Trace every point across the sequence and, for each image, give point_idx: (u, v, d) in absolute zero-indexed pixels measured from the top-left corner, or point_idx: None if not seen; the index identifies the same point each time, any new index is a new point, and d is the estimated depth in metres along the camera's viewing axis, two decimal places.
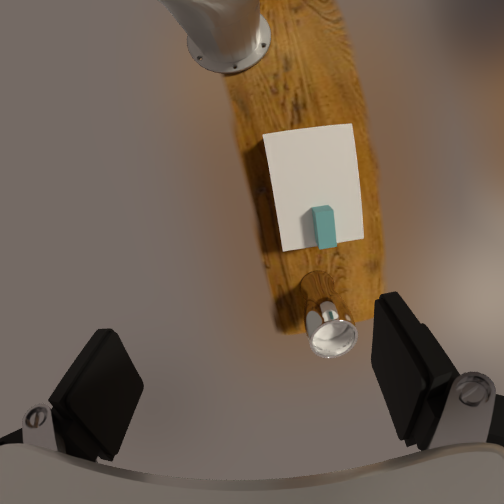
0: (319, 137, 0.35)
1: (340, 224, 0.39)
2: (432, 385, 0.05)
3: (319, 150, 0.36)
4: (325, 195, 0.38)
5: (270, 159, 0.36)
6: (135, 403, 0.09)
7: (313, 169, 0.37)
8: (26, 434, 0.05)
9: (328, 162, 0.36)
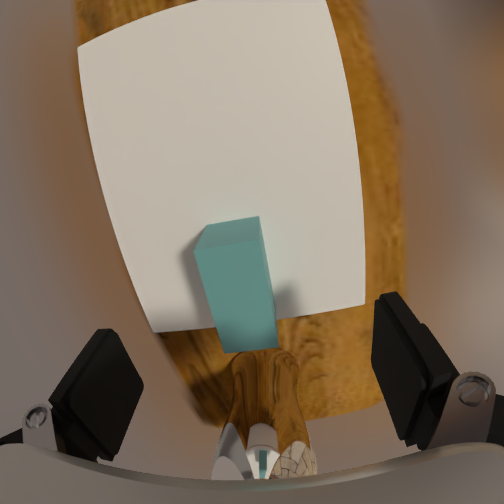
0: (222, 19, 0.09)
1: (298, 271, 0.14)
2: (432, 385, 0.05)
3: (223, 52, 0.10)
4: (246, 188, 0.12)
5: (90, 102, 0.11)
6: (135, 403, 0.09)
7: (204, 109, 0.11)
8: (26, 434, 0.05)
9: (252, 86, 0.11)
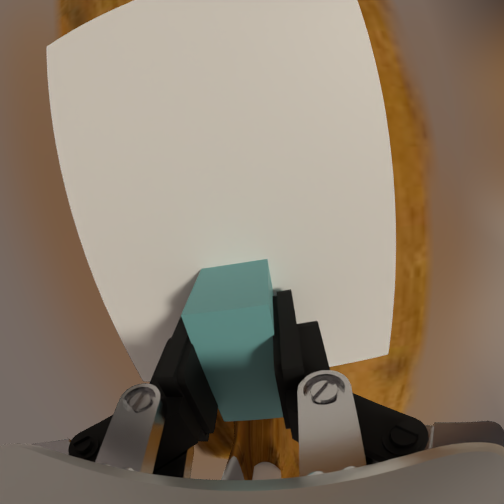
0: (219, 3, 0.07)
1: None
2: (284, 376, 0.06)
3: (221, 44, 0.07)
4: (251, 224, 0.10)
5: (58, 112, 0.08)
6: None
7: (196, 120, 0.08)
8: (118, 414, 0.06)
9: (260, 88, 0.08)
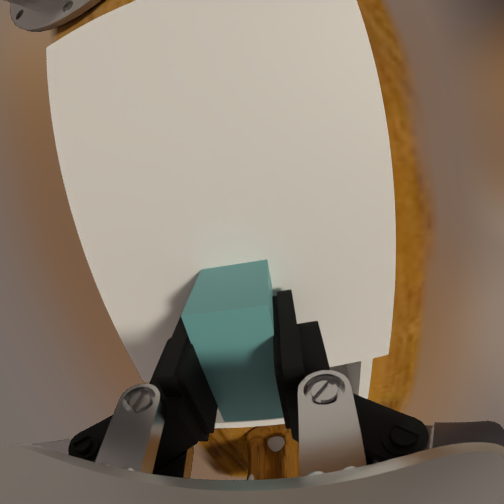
0: (219, 4, 0.07)
1: None
2: (284, 376, 0.06)
3: (220, 45, 0.08)
4: (251, 225, 0.10)
5: (58, 113, 0.08)
6: None
7: (196, 120, 0.09)
8: (118, 414, 0.06)
9: (259, 89, 0.08)
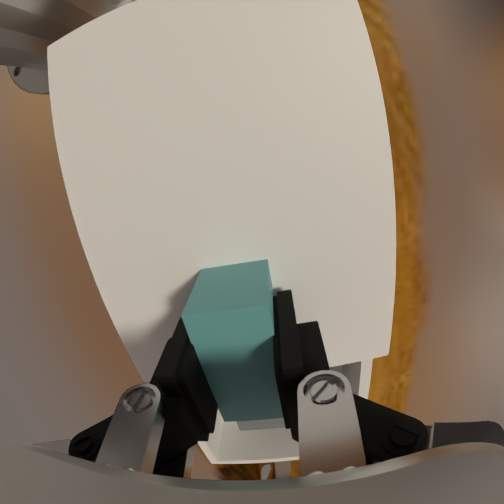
0: (220, 4, 0.07)
1: None
2: (284, 376, 0.06)
3: (221, 44, 0.08)
4: (251, 225, 0.10)
5: (59, 112, 0.08)
6: None
7: (197, 120, 0.09)
8: (118, 414, 0.06)
9: (260, 89, 0.08)
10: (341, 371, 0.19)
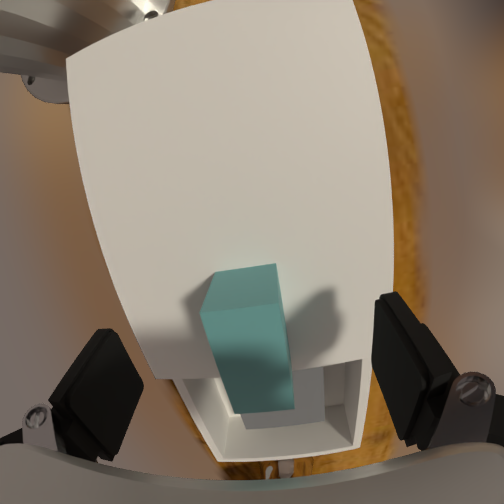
0: (233, 25, 0.08)
1: (317, 323, 0.12)
2: (432, 385, 0.05)
3: (235, 65, 0.09)
4: (261, 231, 0.11)
5: (79, 123, 0.09)
6: (135, 403, 0.09)
7: (212, 135, 0.10)
8: (26, 434, 0.05)
9: (270, 107, 0.09)
10: (343, 372, 0.20)
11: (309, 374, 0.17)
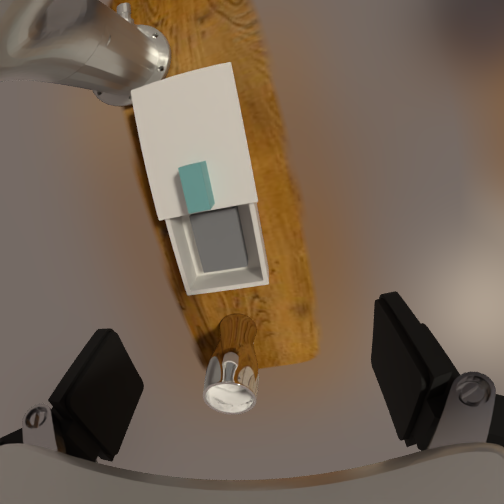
0: (190, 82, 0.27)
1: (223, 184, 0.32)
2: (432, 385, 0.05)
3: (191, 97, 0.28)
4: (200, 149, 0.30)
5: (138, 115, 0.29)
6: (134, 403, 0.09)
7: (184, 120, 0.29)
8: (26, 434, 0.05)
9: (202, 110, 0.29)
10: None
11: (232, 227, 0.37)
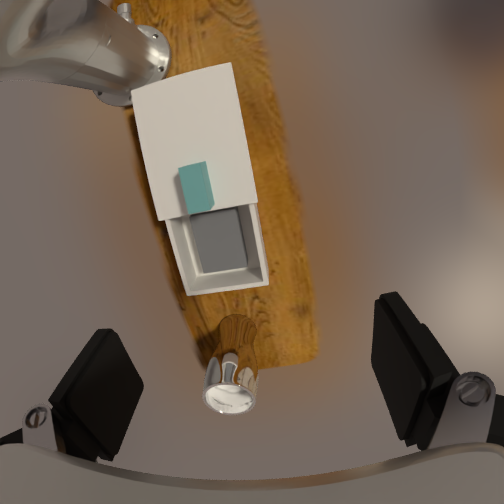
0: (191, 83, 0.27)
1: (223, 184, 0.32)
2: (432, 385, 0.05)
3: (191, 97, 0.28)
4: (200, 150, 0.30)
5: (138, 115, 0.29)
6: (134, 403, 0.09)
7: (184, 120, 0.29)
8: (26, 434, 0.05)
9: (202, 110, 0.29)
10: None
11: (232, 228, 0.36)
